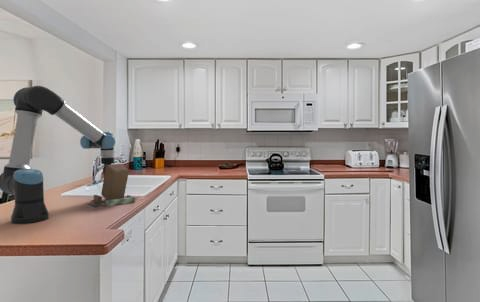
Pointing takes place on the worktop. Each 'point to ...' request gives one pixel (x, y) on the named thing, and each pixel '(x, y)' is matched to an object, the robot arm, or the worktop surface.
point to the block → (114, 182)
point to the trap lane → (112, 201)
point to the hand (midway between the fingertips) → (108, 195)
